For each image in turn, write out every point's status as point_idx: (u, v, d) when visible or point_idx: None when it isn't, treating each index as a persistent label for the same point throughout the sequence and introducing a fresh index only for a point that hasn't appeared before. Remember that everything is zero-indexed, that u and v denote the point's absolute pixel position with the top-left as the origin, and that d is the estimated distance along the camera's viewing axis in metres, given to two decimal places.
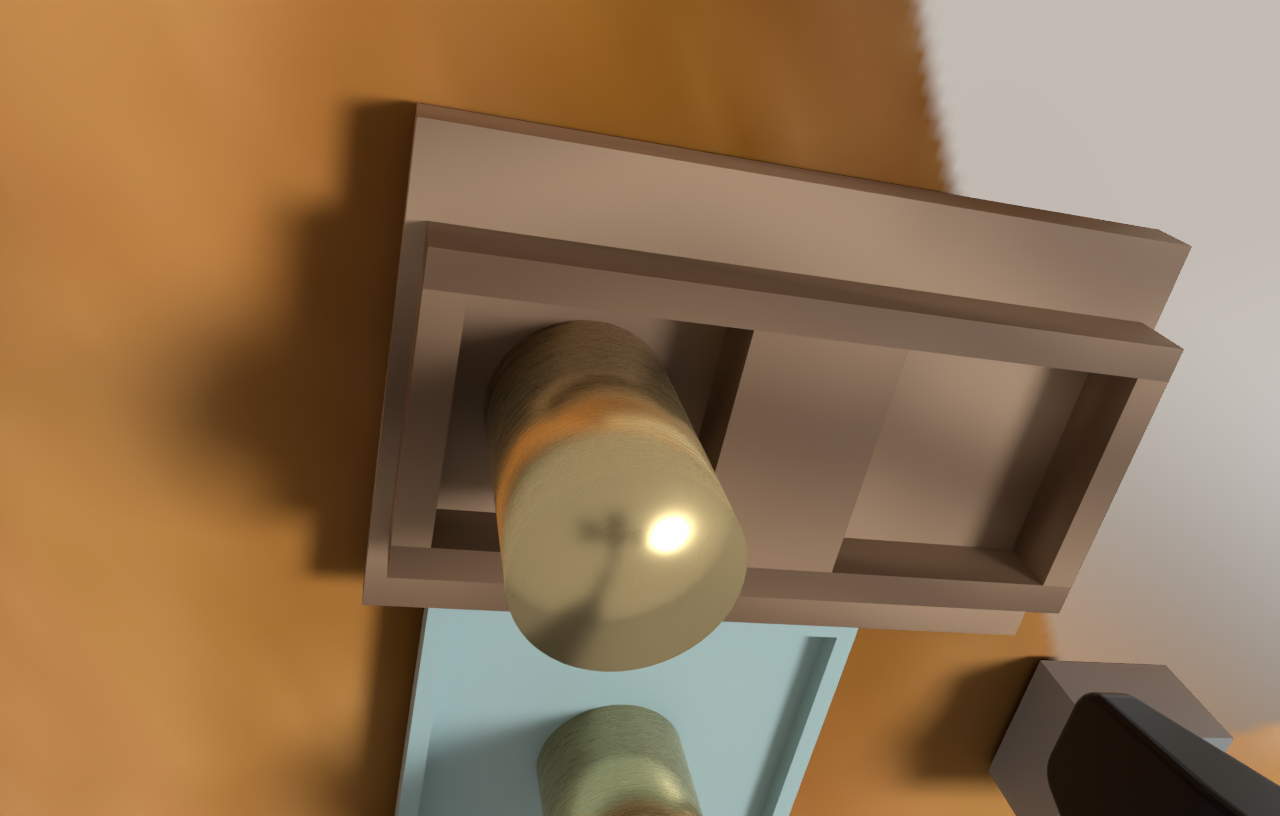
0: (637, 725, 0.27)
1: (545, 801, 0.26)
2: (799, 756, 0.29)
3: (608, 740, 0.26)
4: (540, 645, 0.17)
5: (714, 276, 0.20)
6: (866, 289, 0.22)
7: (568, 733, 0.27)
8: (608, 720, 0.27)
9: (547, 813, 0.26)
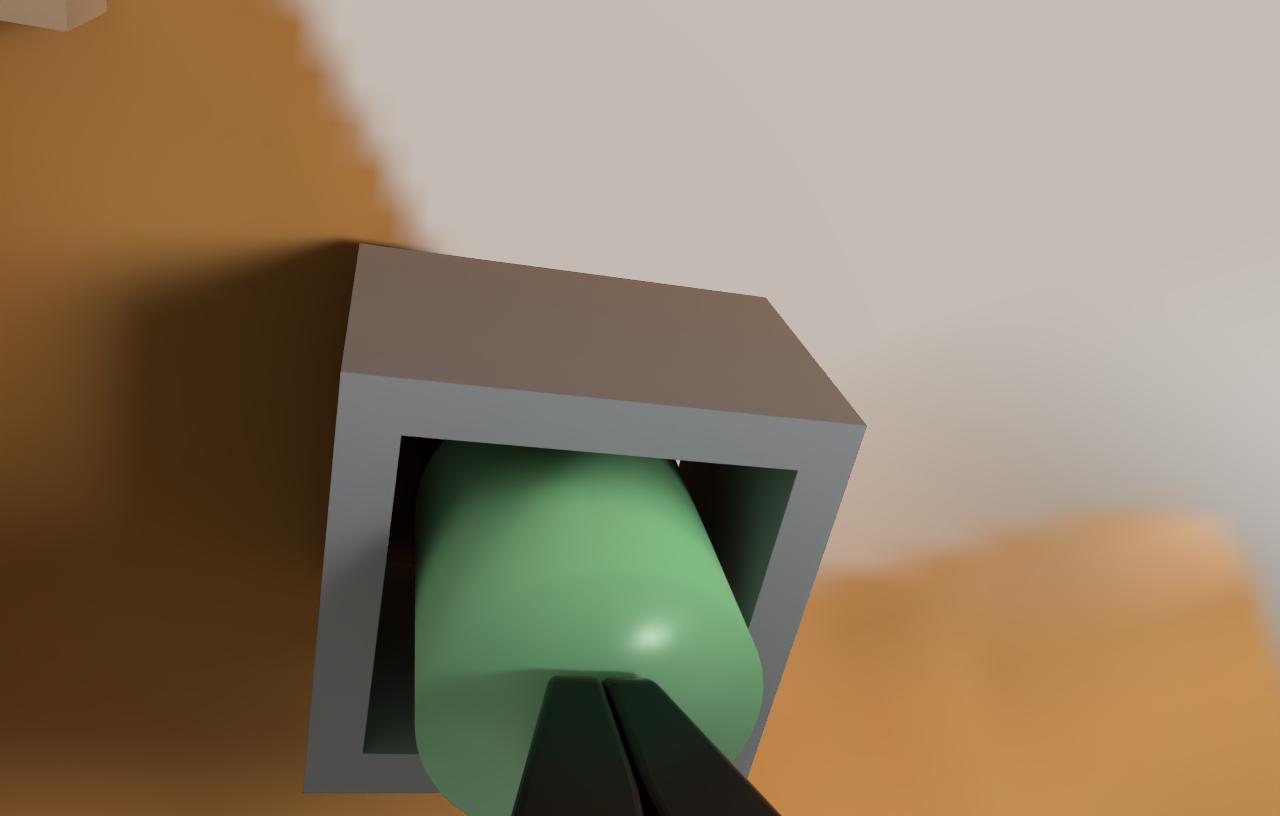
0: None
1: None
2: None
3: None
4: None
5: None
6: None
7: None
8: None
9: None
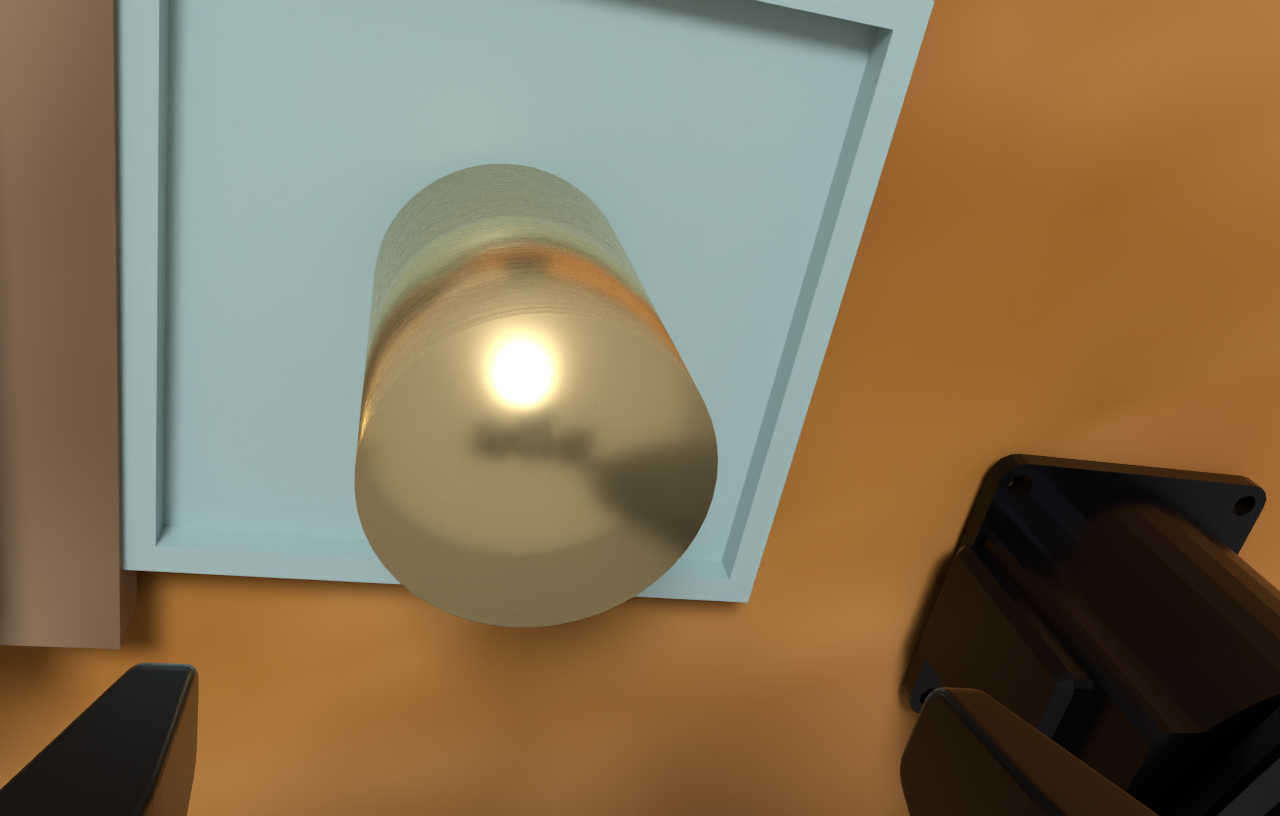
0: (375, 273, 0.15)
1: None
2: None
3: None
4: None
5: None
6: None
7: None
8: None
9: None
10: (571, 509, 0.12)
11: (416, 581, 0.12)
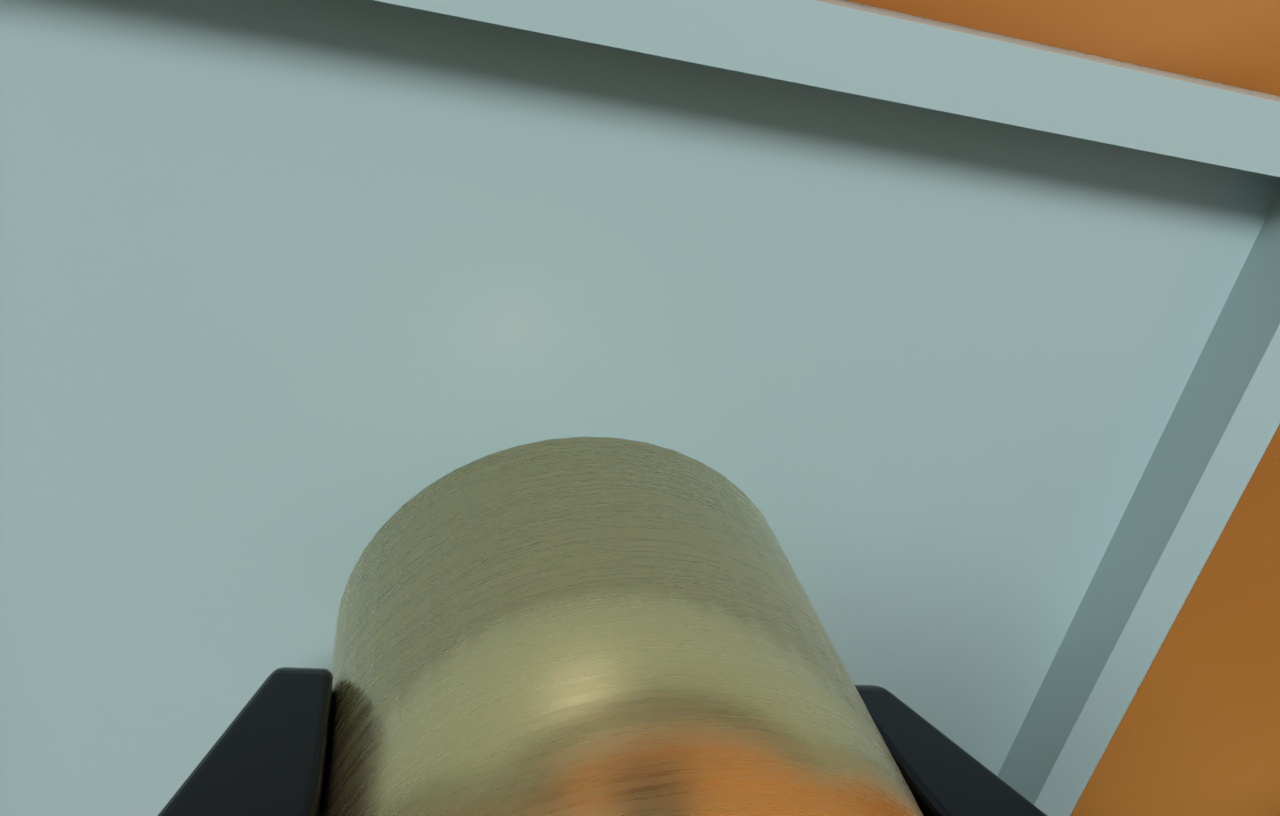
0: (334, 662, 0.08)
1: None
2: (605, 16, 0.06)
3: None
4: None
5: None
6: None
7: None
8: None
9: None
10: None
11: None
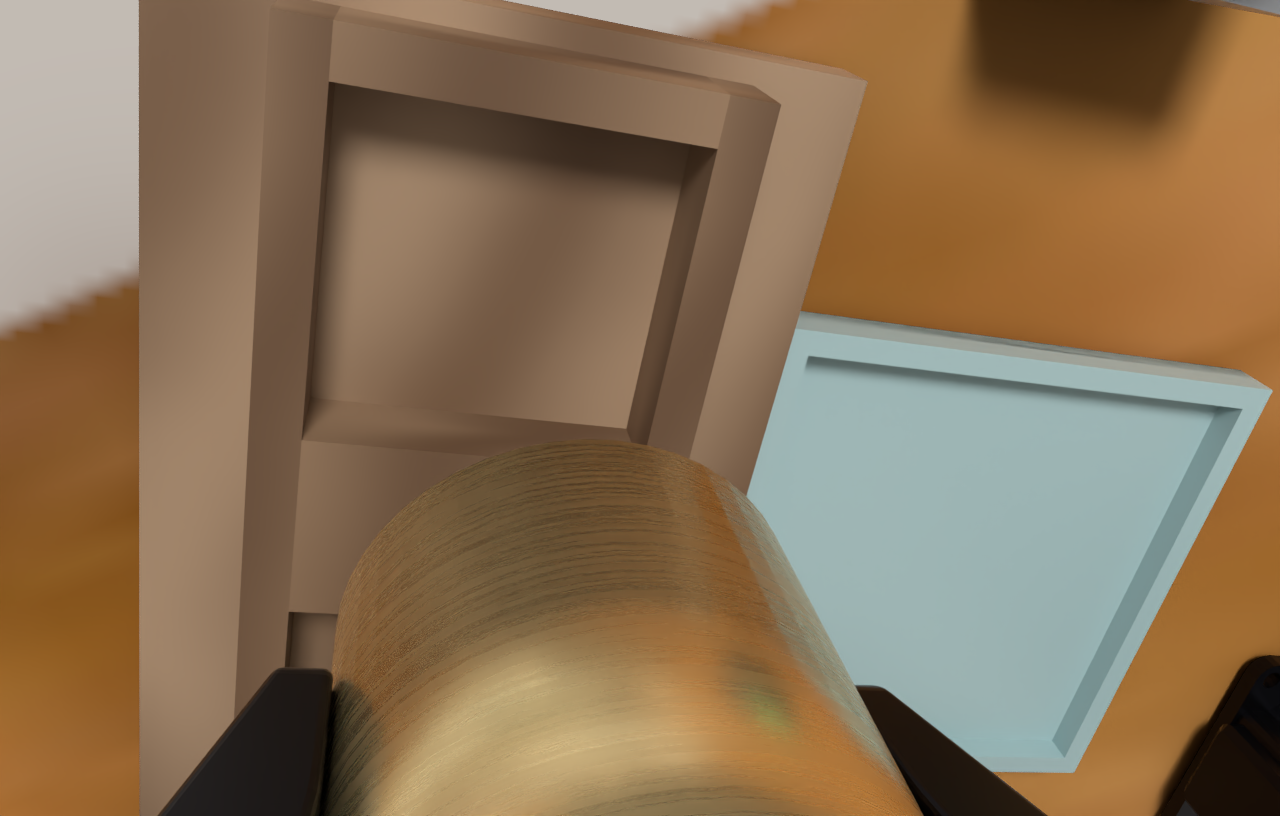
0: (334, 666, 0.08)
1: None
2: (1006, 371, 0.20)
3: None
4: None
5: None
6: None
7: None
8: None
9: None
10: None
11: None
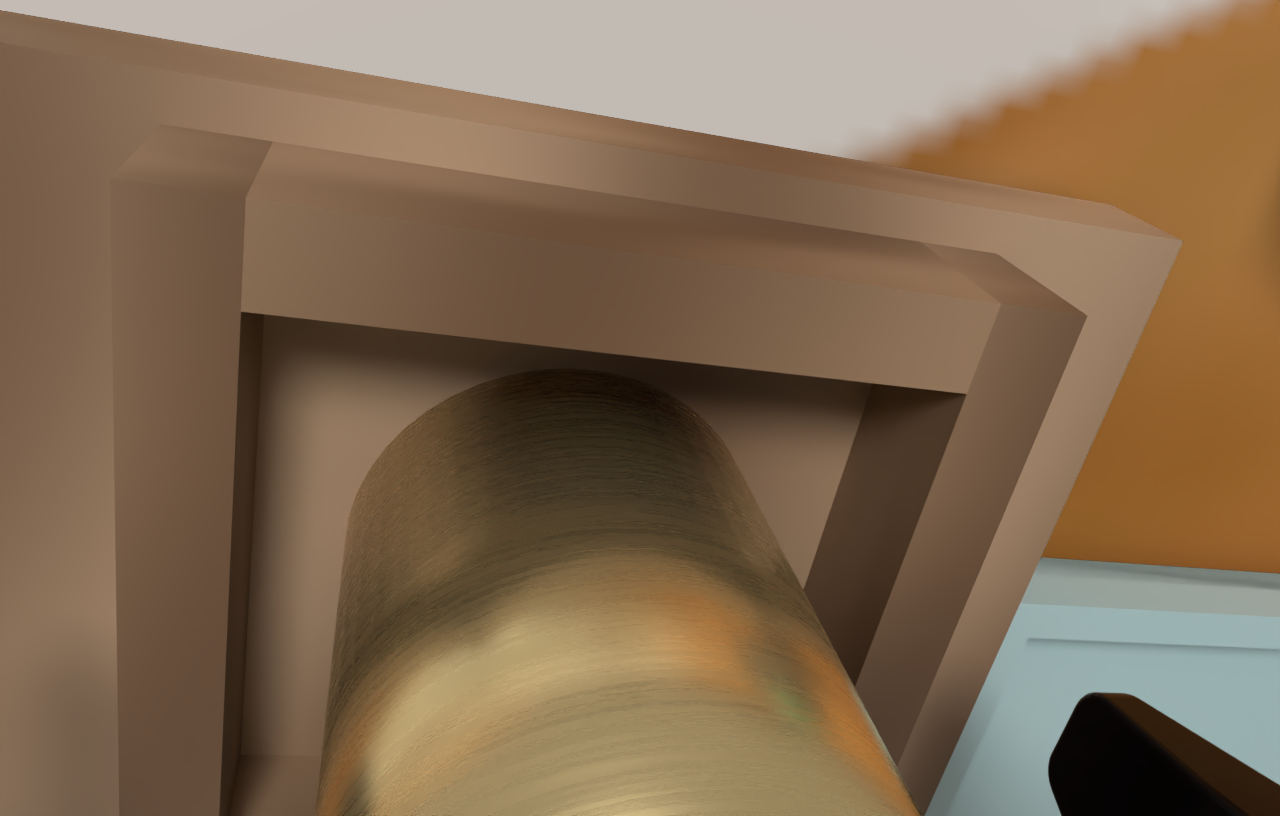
0: (344, 564, 0.09)
1: None
2: None
3: None
4: None
5: None
6: None
7: None
8: None
9: None
10: None
11: None
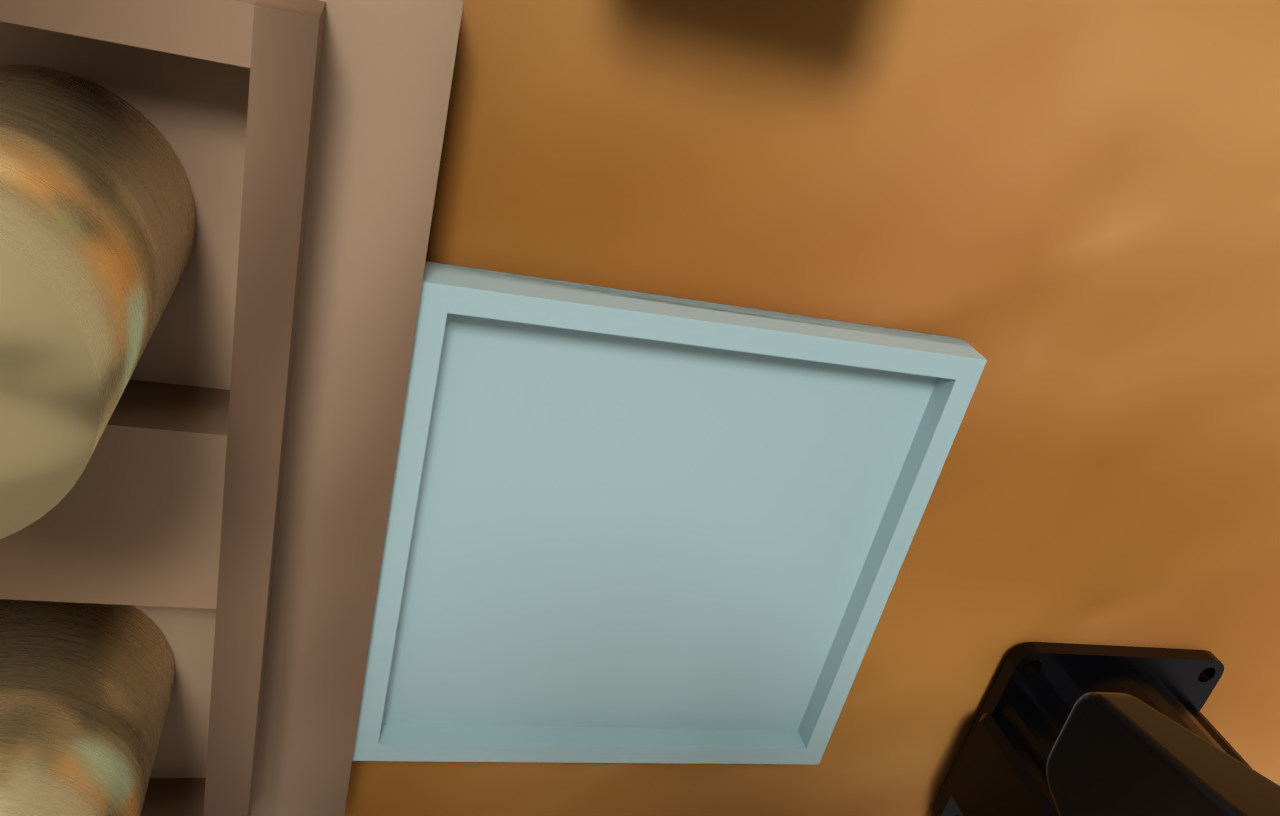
0: None
1: None
2: (681, 335, 0.19)
3: None
4: None
5: None
6: None
7: None
8: None
9: None
10: None
11: None
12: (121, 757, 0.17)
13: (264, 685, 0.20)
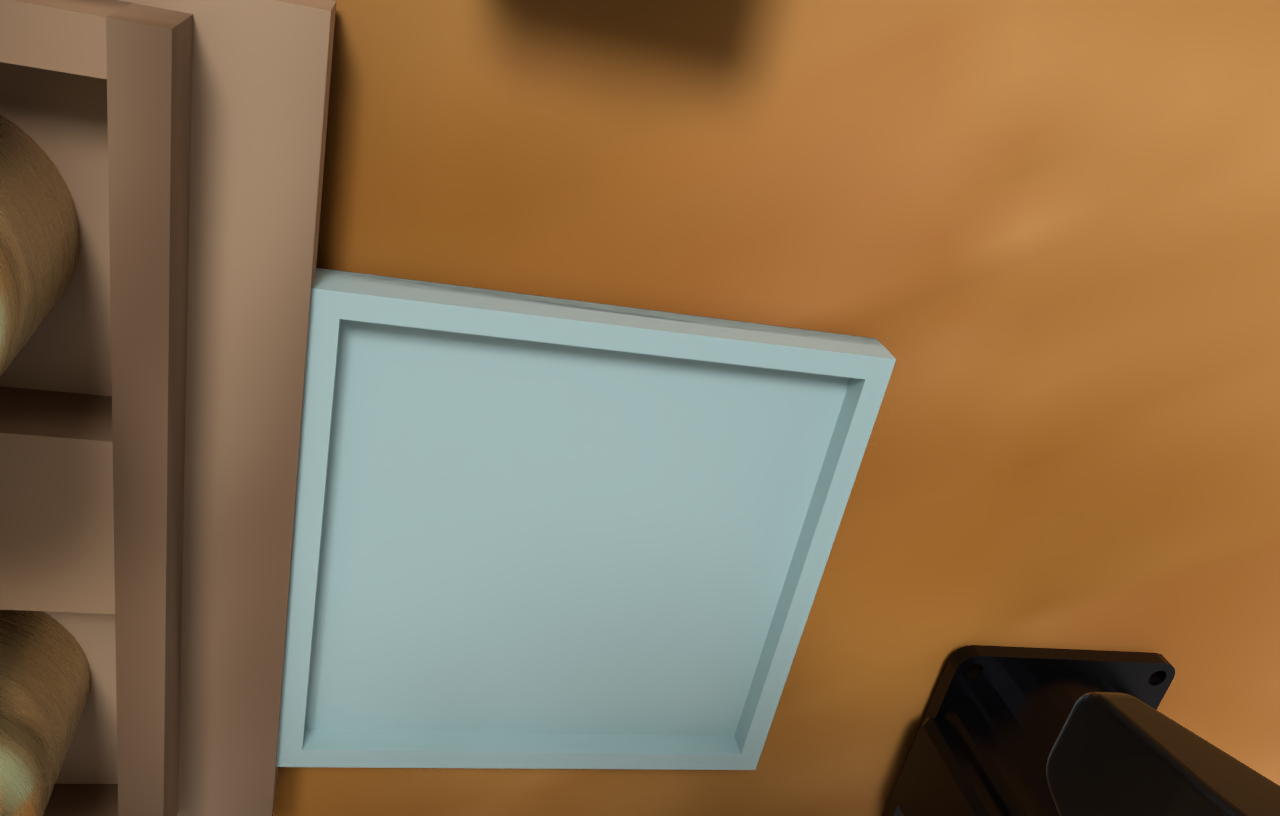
0: None
1: None
2: (579, 338, 0.19)
3: None
4: None
5: None
6: None
7: None
8: None
9: None
10: None
11: None
12: (16, 760, 0.17)
13: (181, 691, 0.21)
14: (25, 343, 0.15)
